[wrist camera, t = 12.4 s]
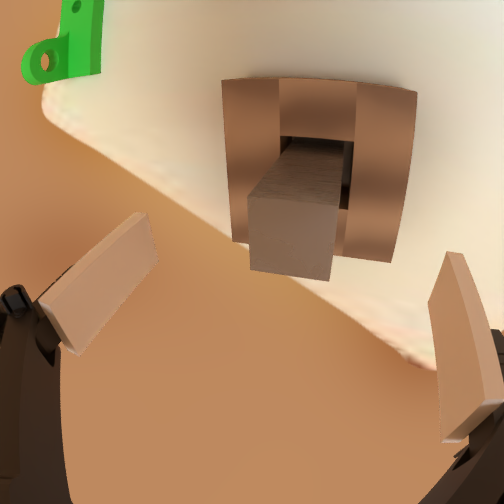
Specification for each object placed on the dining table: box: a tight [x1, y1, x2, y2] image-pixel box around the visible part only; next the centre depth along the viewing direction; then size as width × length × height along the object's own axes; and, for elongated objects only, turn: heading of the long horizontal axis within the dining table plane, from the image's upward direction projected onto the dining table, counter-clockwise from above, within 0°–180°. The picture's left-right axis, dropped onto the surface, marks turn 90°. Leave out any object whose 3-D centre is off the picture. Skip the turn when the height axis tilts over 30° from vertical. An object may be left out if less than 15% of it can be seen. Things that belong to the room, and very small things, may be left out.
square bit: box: [247, 136, 344, 281], centre depth 20 cm, size 4×4×15 cm
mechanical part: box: [21, 0, 104, 85], centre depth 22 cm, size 12×6×8 cm, turn 175°
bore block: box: [221, 77, 417, 263], centre depth 24 cm, size 14×14×6 cm
